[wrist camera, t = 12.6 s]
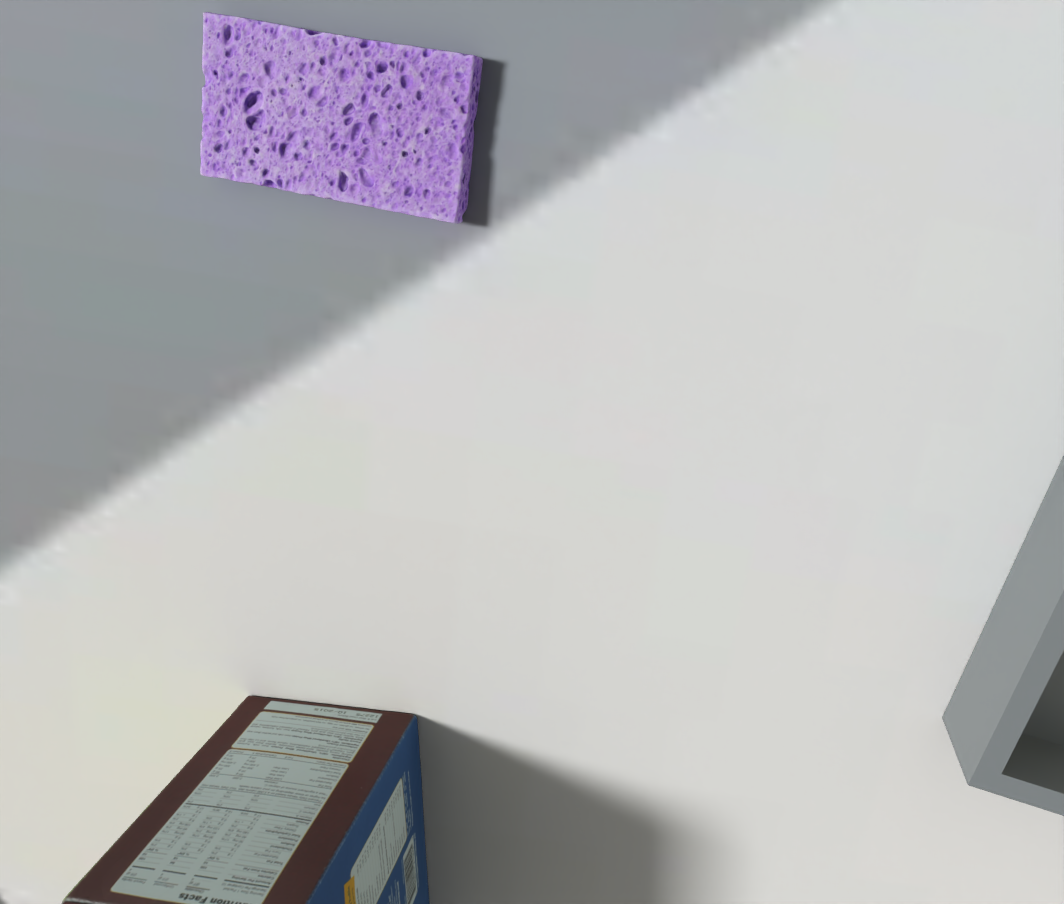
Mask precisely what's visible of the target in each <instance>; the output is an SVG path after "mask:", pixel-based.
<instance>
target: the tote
mask: <svg viewBox="0 0 1064 904" xmlns="http://www.w3.org/2000/svg"><path fill="white" fill-rule="evenodd" d="M942 718H943V721H944V724H945V726H946V729H947V732H948V734H949V737H950V739H951V742H952V745H953V747H954V750H955V752H956V755H957V758H958V760H959V763H960V766H961V768H962V771H963V773H964V776H965V779H966V781H967V784H968V785H969V786H973V787H976V788H979V789H982V790H985V791H988V792H991V793H994V794H997V795H1001V796H1004V797H1007V798H1010V799H1013V800H1016V801H1019V802H1022V803H1026V804H1029V805H1032V806H1035V807H1038V808H1041V809H1044V810H1047V811H1050V812H1054V813H1057V814H1060V815H1063V816H1064V456H1063V458H1062V461H1061V463H1060V465H1059V467H1058V469H1057V471H1056V474H1055V476H1054V478H1053V480H1052V482H1051V484H1050V486H1049V489H1048V491H1047V493H1046V495H1045V497H1044V499H1043V502H1042V504H1041V506H1040V508H1039V510H1038V512H1037V515H1036V517H1035V519H1034V521H1033V523H1032V525H1031V527H1030V530H1029V532H1028V534H1027V536H1026V538H1025V540H1024V543H1023V545H1022V547H1021V549H1020V551H1019V553H1018V555H1017V558H1016V560H1015V562H1014V564H1013V566H1012V568H1011V571H1010V573H1009V575H1008V577H1007V579H1006V581H1005V583H1004V586H1003V588H1002V590H1001V592H1000V594H999V596H998V599H997V601H996V603H995V605H994V607H993V609H992V611H991V614H990V616H989V618H988V620H987V622H986V624H985V627H984V629H983V631H982V633H981V635H980V637H979V639H978V642H977V644H976V646H975V648H974V650H973V652H972V655H971V657H970V659H969V661H968V663H967V665H966V668H965V670H964V672H963V674H962V676H961V678H960V680H959V683H958V685H957V687H956V689H955V691H954V693H953V696H952V698H951V700H950V702H949V704H948V706H947V708H946V711H945V713H944V715H943V717H942Z"/></svg>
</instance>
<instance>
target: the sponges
mask: <svg viewBox="0 0 1064 904" xmlns="http://www.w3.org/2000/svg"><path fill="white" fill-rule="evenodd" d="M203 18H204V22H203V49H202V51H203V62H202V69H203V72H204V74H205V79H206V84H205V86H203V87H202V94H203V96H202V98H203V103H202V113H203V115H204V120H203V123H202V128H203V131H202V136H203V139H202V141H201V145H200V147H201V168H200V173H201V175H204V176H208V177H219V178H225V179H229V180H233V181H237V182H244V183H253V184H256V185H261V186H267V187H273V188H278V189H281V190H285V191H292V192H296V193H300V194H303V195H314V196H317V197H322V198H327V199H333V200H336V201H341V202H347V203H353V204H357V205H365V206H369V207H375V208H378V209H383V210H387V211H394V212H400V213H404V214H409V215H414V216H418V217H425V218H432V219H436V220H439V221H445V222H452V223H461V222H462V221H463V220H462V215H463V214H464V213H465V211H466V209H467V206H468V196H469V180H470V174H471V166H472V152H473V142H474V129H473V124H474V120H475V118H476V113H477V107H478V95H479V89H480V82H481V72H482V65H483V60H482V58H480V57H477V56H474V55H468V54H462V53H456V52H450V51H443V50H436V49H428V48H422V47H417V46H410V45H401V44H393V43H390V42H382V41H375V40H366V39H360V38H356V37H349V36H344V35H338V34H332V33H324V32H318V31H312V30H307V29H303V28H296V27H290V26H286V25H280V24H275V23H269V22H263V21H258V20H252V19H247V18H242V17H235V16H228V15H222V14H216V13H209V12H204V14H203Z"/></svg>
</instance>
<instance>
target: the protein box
mask: <svg viewBox="0 0 1064 904" xmlns="http://www.w3.org/2000/svg"><path fill="white" fill-rule="evenodd" d="M62 904H429V892H428V877H427V863H426V848H425V832H424V815H423V799H422V781H421V765H420V752H419V736H418V723H417V717H416V716H415V715H413V714H408V713H399V712H389V711H380V710H371V709H362V708H352V707H345V706H336V705H328V704H317V703H309V702H300V701H291V700H283V699H273V698H264V697H255V696H248V697H247V698H246V699H245V700H244V701H243V702H242V703H241V704H240V705H239V706H238V708H237V709H236V710H235V711H234V712H233V713H232V714H231V716H230V717H229V718H228V719H227V720H226V721H225V722H224V723H223V724H222V726H221V727H220V728H219V729H218V730H217V731H216V732H215V733H214V734H213V735H212V737H211V738H210V739H209V740H208V741H207V742H206V743H205V744H204V745H203V747H202V748H201V749H200V750H199V751H198V752H197V753H196V754H195V755H194V756H193V757H192V759H191V760H190V761H189V762H188V763H187V764H186V765H185V766H184V767H183V768H182V770H181V771H180V772H179V773H178V774H177V775H176V776H175V777H174V778H173V779H172V780H171V782H170V783H169V784H168V785H167V786H166V787H165V788H164V789H163V790H162V791H161V793H160V794H159V795H158V796H157V797H156V798H155V799H154V800H153V802H152V803H151V804H150V805H149V806H148V807H147V808H146V809H145V810H144V811H143V812H142V813H141V814H140V816H139V817H138V818H137V819H136V820H135V821H134V822H133V823H132V824H131V826H130V827H129V828H128V829H127V830H126V831H125V832H124V833H123V834H122V835H121V837H120V838H119V839H118V840H117V841H116V842H115V843H114V844H113V845H112V846H111V847H110V849H109V850H108V851H107V852H106V853H105V854H104V855H103V856H102V857H101V858H100V860H99V861H98V862H97V863H96V864H95V865H94V866H93V867H92V868H91V869H90V871H89V872H88V873H87V874H86V875H85V876H84V877H83V878H82V879H81V880H80V881H79V883H78V884H77V885H76V886H75V887H74V888H73V889H72V890H71V891H70V892H69V894H68V895H67V896H66V897H65V898H64V900H63V901H62Z"/></svg>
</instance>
